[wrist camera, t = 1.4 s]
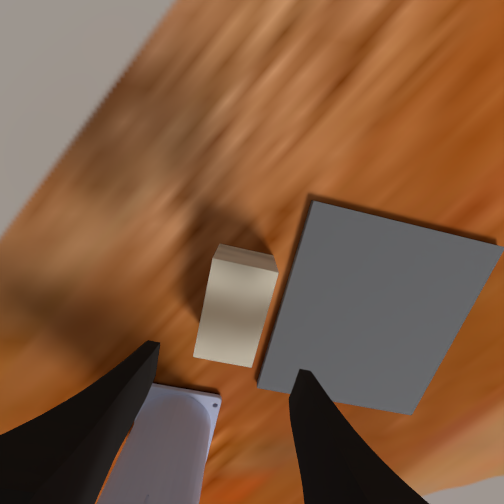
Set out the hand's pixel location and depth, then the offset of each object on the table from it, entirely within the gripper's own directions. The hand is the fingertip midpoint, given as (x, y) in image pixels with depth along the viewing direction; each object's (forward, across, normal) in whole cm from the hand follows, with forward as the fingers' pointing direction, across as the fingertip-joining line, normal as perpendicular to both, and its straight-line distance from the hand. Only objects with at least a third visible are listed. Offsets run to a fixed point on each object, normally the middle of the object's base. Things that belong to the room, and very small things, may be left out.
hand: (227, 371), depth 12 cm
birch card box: (+9, 0, 0) cm, 9 cm away
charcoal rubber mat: (+9, -12, 0) cm, 15 cm away
